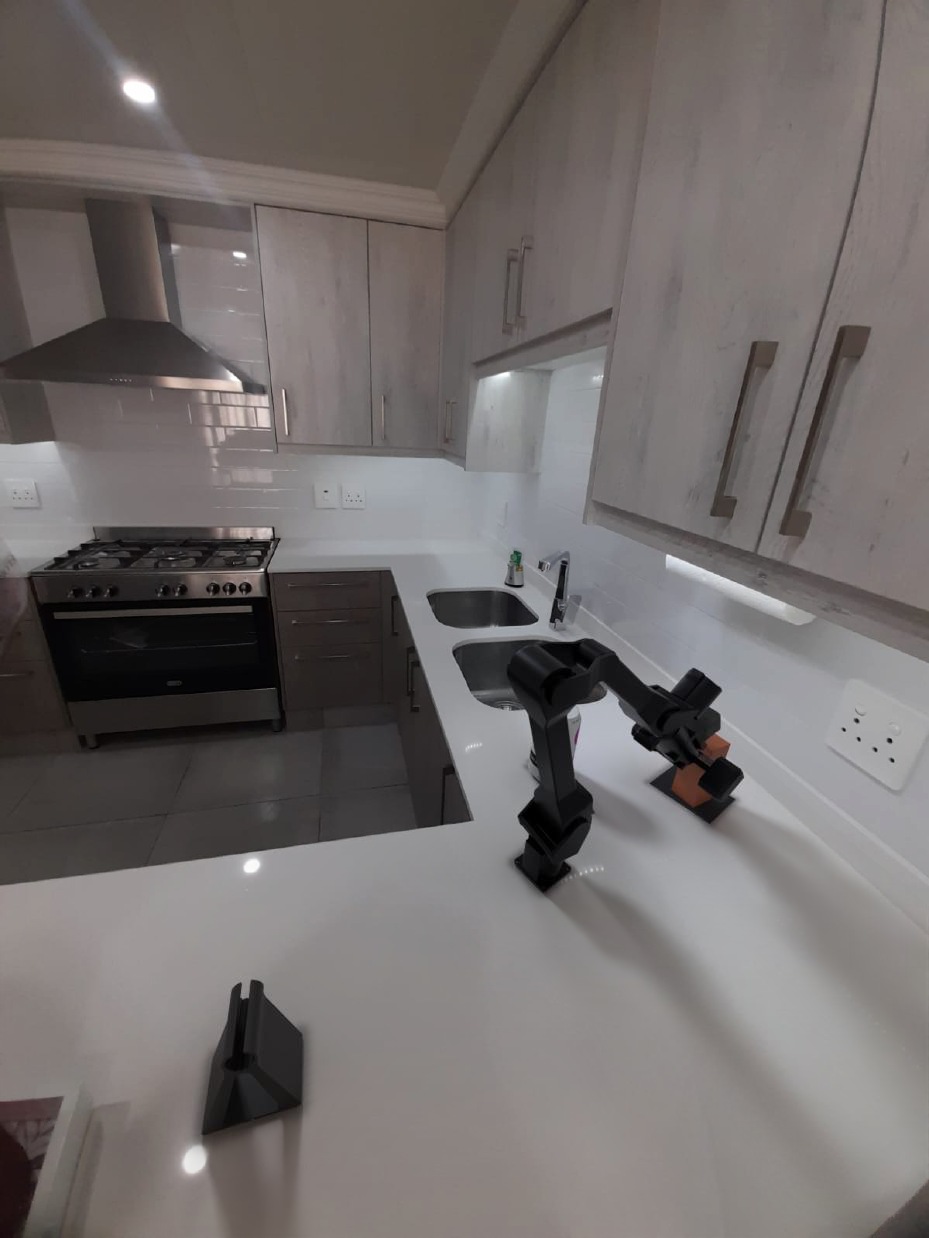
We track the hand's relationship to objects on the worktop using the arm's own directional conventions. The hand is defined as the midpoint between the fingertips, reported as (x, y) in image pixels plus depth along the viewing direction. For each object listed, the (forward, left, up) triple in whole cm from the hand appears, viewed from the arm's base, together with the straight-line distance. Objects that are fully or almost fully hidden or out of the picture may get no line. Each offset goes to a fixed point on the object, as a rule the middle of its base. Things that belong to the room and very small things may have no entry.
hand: (695, 768), depth 89 cm
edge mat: (+2, 0, -7) cm, 7 cm away
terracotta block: (+1, 0, -6) cm, 7 cm away
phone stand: (-77, +6, -7) cm, 77 cm away
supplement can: (-17, +20, -7) cm, 27 cm away
